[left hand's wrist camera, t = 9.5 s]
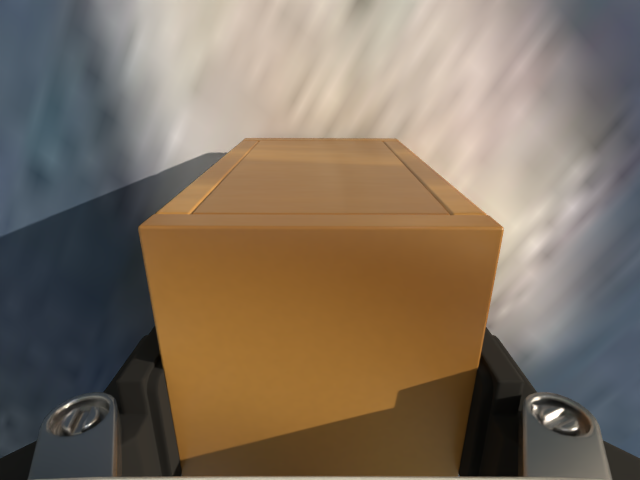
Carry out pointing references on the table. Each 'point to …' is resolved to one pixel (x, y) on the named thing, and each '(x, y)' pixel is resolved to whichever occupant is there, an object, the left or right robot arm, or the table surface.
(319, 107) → the table surface
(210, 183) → the box
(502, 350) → the left robot arm
